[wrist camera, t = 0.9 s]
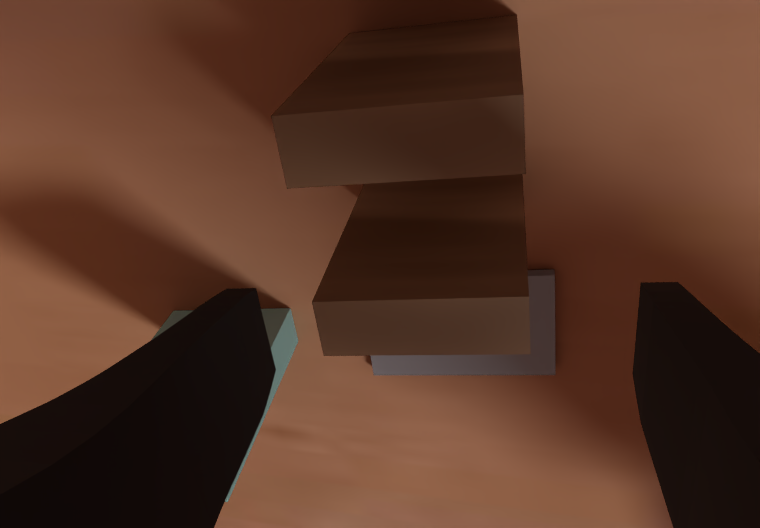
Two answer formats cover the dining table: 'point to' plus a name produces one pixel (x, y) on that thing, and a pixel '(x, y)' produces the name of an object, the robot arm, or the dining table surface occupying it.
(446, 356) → the slot pad
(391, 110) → the domino
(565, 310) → the dining table surface
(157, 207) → the dining table surface
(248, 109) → the dining table surface
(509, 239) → the domino
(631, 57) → the dining table surface
